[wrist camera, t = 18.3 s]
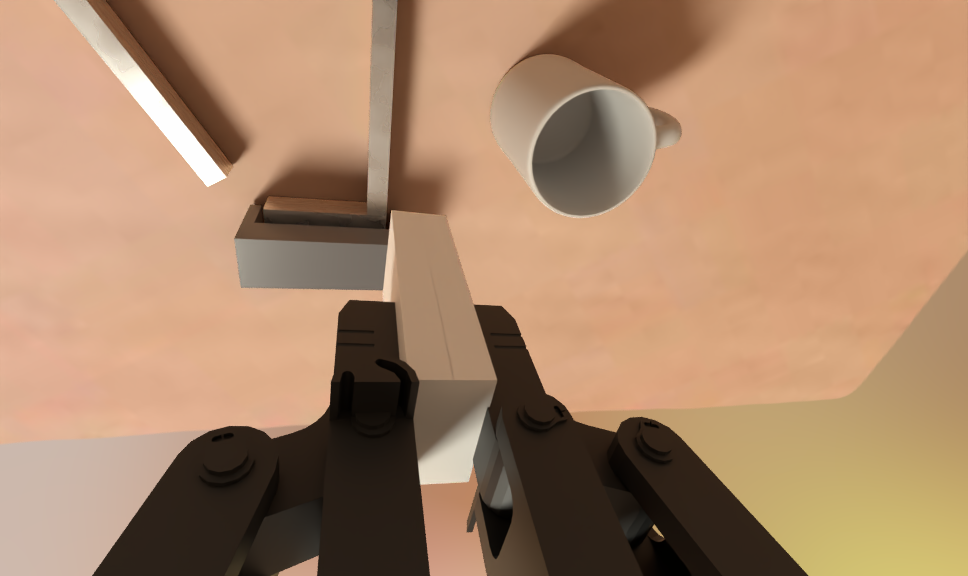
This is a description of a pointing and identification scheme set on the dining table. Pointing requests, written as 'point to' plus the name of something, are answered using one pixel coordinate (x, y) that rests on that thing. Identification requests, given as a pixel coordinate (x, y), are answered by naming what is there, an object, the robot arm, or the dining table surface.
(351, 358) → the robot arm
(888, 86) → the dining table surface
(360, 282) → the grey rectangular block
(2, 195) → the dining table surface
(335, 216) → the base
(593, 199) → the mug
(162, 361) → the dining table surface
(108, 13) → the red-tipped stick
